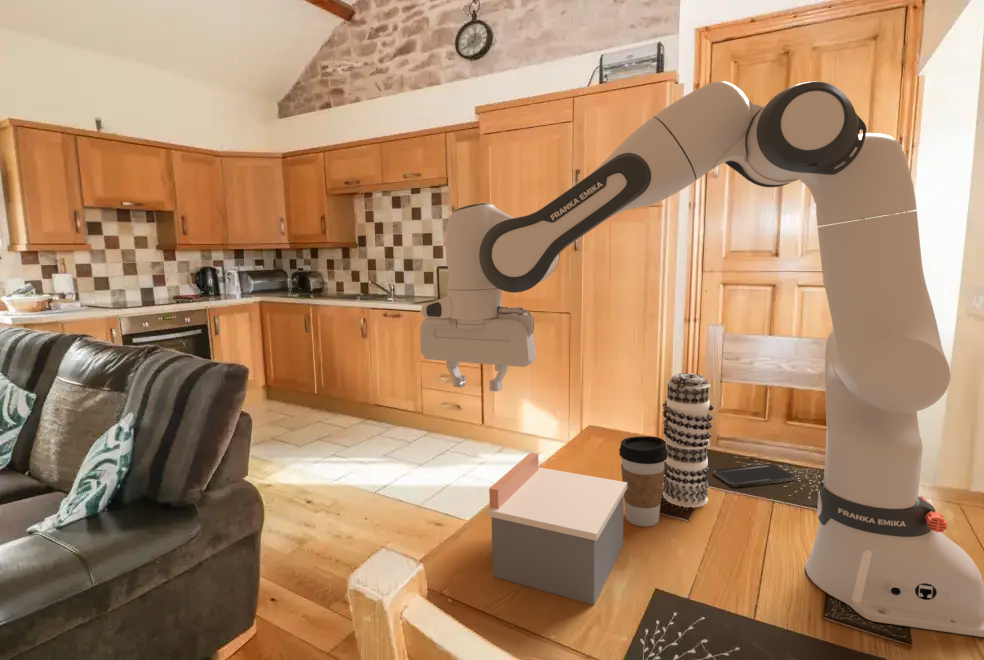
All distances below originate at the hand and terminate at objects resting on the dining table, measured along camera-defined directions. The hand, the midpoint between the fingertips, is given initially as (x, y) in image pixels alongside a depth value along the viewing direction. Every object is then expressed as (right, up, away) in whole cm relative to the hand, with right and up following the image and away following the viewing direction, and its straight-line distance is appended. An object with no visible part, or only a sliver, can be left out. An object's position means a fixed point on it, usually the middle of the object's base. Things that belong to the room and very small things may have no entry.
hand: (477, 388), depth 89 cm
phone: (+59, -23, +26) cm, 69 cm away
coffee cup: (+30, -25, +10) cm, 41 cm away
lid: (+13, -18, -4) cm, 22 cm away
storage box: (+14, -28, -3) cm, 31 cm away
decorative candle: (+41, -24, +18) cm, 51 cm away
